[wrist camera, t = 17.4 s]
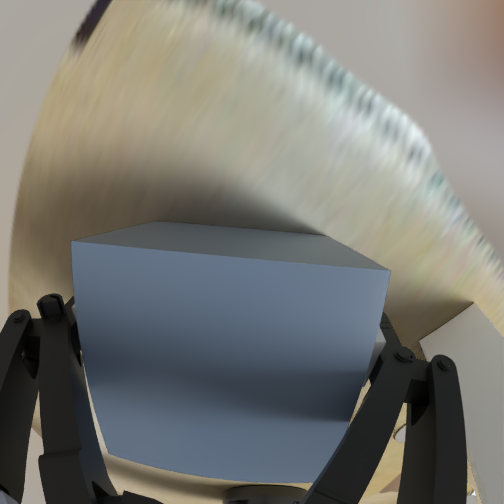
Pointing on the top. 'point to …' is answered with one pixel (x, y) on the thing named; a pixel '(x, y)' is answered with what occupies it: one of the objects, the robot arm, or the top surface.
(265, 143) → the top surface
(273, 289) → the blue gray block
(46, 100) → the top surface
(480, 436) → the milk
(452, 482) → the robot arm
